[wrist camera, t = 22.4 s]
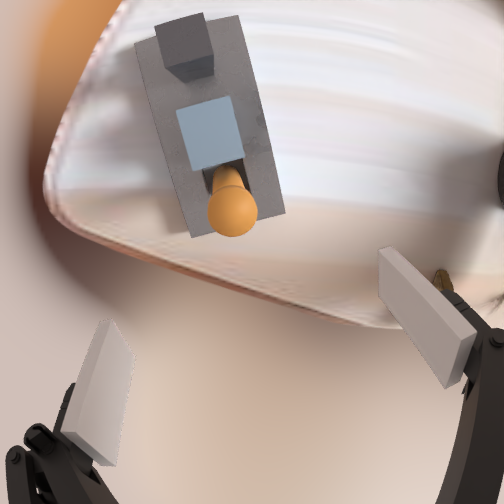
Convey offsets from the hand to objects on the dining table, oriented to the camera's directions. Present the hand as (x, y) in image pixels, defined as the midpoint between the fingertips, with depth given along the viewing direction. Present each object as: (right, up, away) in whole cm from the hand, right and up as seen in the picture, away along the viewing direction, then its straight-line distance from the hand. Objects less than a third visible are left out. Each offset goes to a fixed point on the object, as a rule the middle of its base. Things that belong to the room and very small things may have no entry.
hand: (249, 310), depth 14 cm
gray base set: (-5, +18, +21) cm, 28 cm away
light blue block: (-4, +16, +19) cm, 25 cm away
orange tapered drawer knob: (-3, +12, +24) cm, 27 cm away
